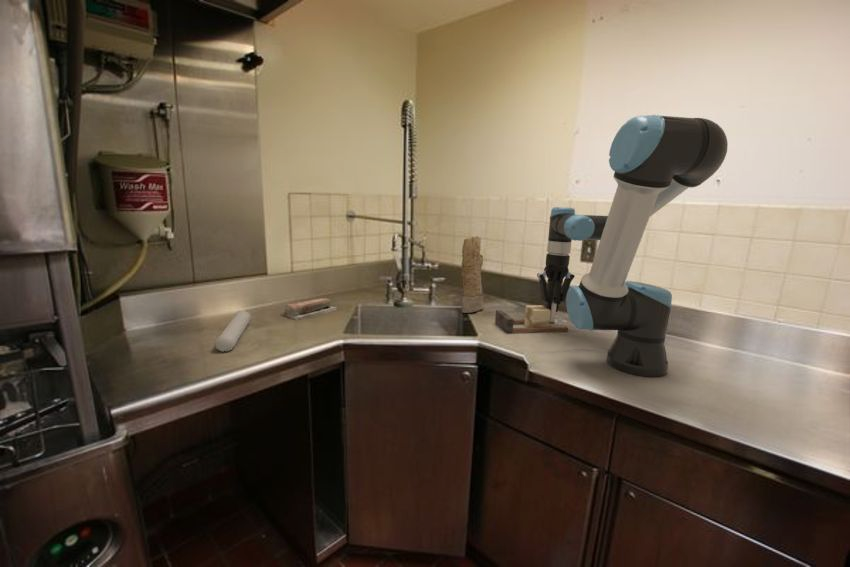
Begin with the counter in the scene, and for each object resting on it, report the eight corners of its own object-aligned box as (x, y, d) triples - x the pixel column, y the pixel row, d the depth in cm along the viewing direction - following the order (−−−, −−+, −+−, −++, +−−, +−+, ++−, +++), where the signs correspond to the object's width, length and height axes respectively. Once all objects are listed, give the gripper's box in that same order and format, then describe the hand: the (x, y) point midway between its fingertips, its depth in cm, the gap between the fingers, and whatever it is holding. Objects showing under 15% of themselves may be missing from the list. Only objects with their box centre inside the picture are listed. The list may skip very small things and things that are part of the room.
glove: (485, 315, 154) (491, 238, 148) (458, 313, 155) (463, 237, 148) (482, 306, 168) (487, 235, 161) (457, 304, 168) (461, 234, 162)
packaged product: (296, 308, 138) (280, 303, 144) (297, 321, 139) (280, 315, 145) (337, 299, 152) (320, 294, 158) (337, 311, 153) (320, 306, 159)
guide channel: (568, 335, 134) (570, 318, 133) (507, 337, 130) (508, 320, 129) (550, 324, 146) (552, 308, 145) (494, 326, 141) (495, 309, 140)
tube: (236, 339, 109) (253, 313, 132) (215, 334, 107) (236, 308, 131) (230, 357, 109) (248, 327, 133) (210, 352, 108) (231, 323, 131)
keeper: (548, 330, 136) (550, 310, 134) (532, 330, 134) (534, 310, 133) (539, 324, 142) (541, 305, 140) (524, 324, 140) (525, 305, 139)
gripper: (570, 252, 138) (562, 317, 143) (535, 251, 136) (528, 317, 141) (582, 255, 131) (573, 323, 136) (545, 255, 129) (538, 324, 134)
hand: (550, 320), depth 139 cm, fingers closed
